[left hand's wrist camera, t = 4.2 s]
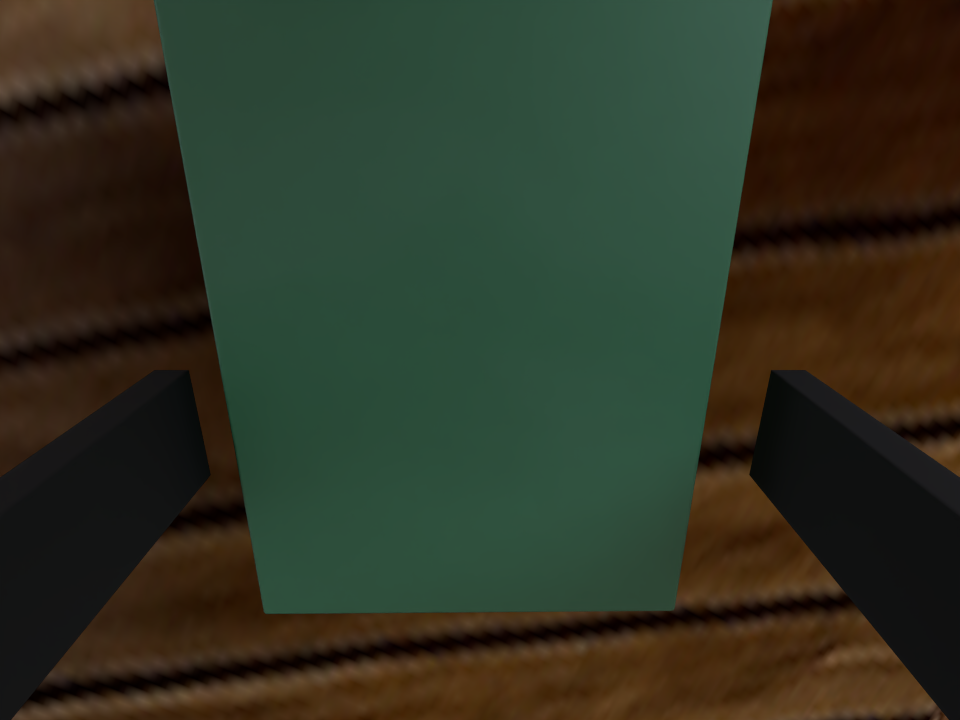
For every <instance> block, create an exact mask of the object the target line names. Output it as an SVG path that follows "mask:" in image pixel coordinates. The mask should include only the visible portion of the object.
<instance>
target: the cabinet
mask: <svg viewBox="0 0 960 720" xmlns="http://www.w3.org/2000/svg"><path fill="white" fill-rule="evenodd" d="M772 1H773V0H154V4H155V9H156V15H157V21H158V26H159V32H160V37H161V43H162V48H163V54H164V59H165V65H166V70H167V76H168V82H169V87H170V93H171V98H172V104H173V109H174V115H175V120H176V126H177V132H178V137H179V143H180V148H181V154H182V159H183V165H184V170H185V176H186V181H187V187H188V193H189V198H190V204H191V209H192V215H193V220H194V226H195V231H196V237H197V243H198V248H199V254H200V259H201V265H202V270H203V276H204V281H205V287H206V292H207V298H208V304H209V309H210V315H211V320H212V326H213V331H214V337H215V342H216V348H217V354H218V359H219V365H220V370H221V376H222V381H223V387H224V392H225V398H226V403H227V409H228V415H229V420H230V426H231V431H232V437H233V442H234V448H235V453H236V459H237V465H238V470H239V476H240V481H241V487H242V492H243V498H244V503H245V509H246V514H247V520H248V526H249V531H250V537H251V542H252V548H253V553H254V559H255V564H256V570H257V576H258V581H259V587H260V592H261V598H262V603H263V609H264V612H265V613H266V614H314V613H439V612H564V611H672V610H674V608H675V601H676V595H677V589H678V583H679V577H680V570H681V564H682V558H683V552H684V546H685V540H686V533H687V527H688V521H689V515H690V509H691V502H692V496H693V490H694V484H695V478H696V471H697V465H698V459H699V453H700V447H701V440H702V434H703V428H704V422H705V416H706V410H707V403H708V397H709V391H710V385H711V379H712V372H713V366H714V360H715V354H716V348H717V341H718V335H719V329H720V323H721V317H722V311H723V304H724V298H725V292H726V286H727V280H728V273H729V267H730V261H731V255H732V249H733V242H734V236H735V230H736V224H737V218H738V212H739V205H740V199H741V193H742V187H743V181H744V174H745V168H746V162H747V156H748V150H749V143H750V137H751V131H752V125H753V119H754V112H755V106H756V100H757V94H758V88H759V82H760V75H761V69H762V63H763V57H764V51H765V44H766V38H767V32H768V26H769V20H770V13H771V7H772Z"/></svg>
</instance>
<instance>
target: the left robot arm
mask: <svg viewBox="0 0 960 720" xmlns="http://www.w3.org/2000/svg"><path fill="white" fill-rule="evenodd" d="M210 475H211V474H210V470H209V465H208V460H207V455H206V450H205V446H204V441H203V436H202V431H201V427H200V422H199V417H198V412H197V407H196V403H195V398H194V393H193V388H192V383H191V379H190V374H189V370H154V371H153V372H152V373H150V374H149V375H147V376H146V377H144V378H143V379H141V380H140V381H139V382H137V383H136V384H134V385H133V386H131V387H130V388H128V389H127V390H126V391H124V392H123V393H121V394H120V395H118V396H117V397H116V398H114V399H113V400H111V401H110V402H108V403H107V404H105V405H104V406H103V407H101V408H100V409H98V410H97V411H95V412H94V413H92V414H91V415H90V416H88V417H87V418H85V419H84V420H82V421H81V422H80V423H78V424H77V425H75V426H74V427H72V428H71V429H69V430H68V431H67V432H65V433H64V434H62V435H61V436H59V437H58V438H56V439H55V440H54V441H52V442H51V443H49V444H48V445H46V446H45V447H44V448H42V449H41V450H39V451H38V452H36V453H35V454H33V455H32V456H31V457H29V458H28V459H26V460H25V461H23V462H22V463H20V464H19V465H18V466H16V467H15V468H13V469H12V470H10V471H9V472H8V473H6V474H5V475H3V476H2V477H0V720H11V719H12V718H13V717H14V715H15V714H16V713H17V712H18V711H19V709H20V708H21V707H22V706H23V704H24V703H25V702H26V701H27V699H28V698H29V697H30V696H31V695H32V693H33V692H34V691H35V690H36V688H37V687H38V686H39V685H40V684H41V682H42V681H43V680H44V679H45V677H46V676H47V675H48V674H49V672H50V671H51V670H52V669H53V668H54V666H55V665H56V664H57V663H58V661H59V660H60V659H61V658H62V657H63V655H64V654H65V653H66V652H67V650H68V649H69V648H70V647H71V646H72V644H73V643H74V642H75V641H76V639H77V638H78V637H79V636H80V634H81V633H82V632H83V631H84V630H85V628H86V627H87V626H88V625H89V623H90V622H91V621H92V620H93V619H94V617H95V616H96V615H97V614H98V612H99V611H100V610H101V609H102V607H103V606H104V605H105V604H106V603H107V601H108V600H109V599H110V598H111V596H112V595H113V594H114V593H115V592H116V590H117V589H118V588H119V587H120V585H121V584H122V583H123V582H124V580H125V579H126V578H127V577H128V576H129V574H130V573H131V572H132V571H133V569H134V568H135V567H136V566H137V565H138V563H139V562H140V561H141V560H142V558H143V557H144V556H145V555H146V553H147V552H148V551H149V550H150V549H151V547H152V546H153V545H154V544H155V542H156V541H157V540H158V539H159V538H160V536H161V535H162V534H163V533H164V531H165V530H166V529H167V528H168V527H169V525H170V524H171V523H172V522H173V520H174V519H175V518H176V517H177V515H178V514H179V513H180V512H181V511H182V509H183V508H184V507H185V506H186V504H187V503H188V502H189V501H190V500H191V498H192V497H193V496H194V495H195V493H196V492H197V491H198V490H199V488H200V487H201V486H202V485H203V484H204V482H205V481H206V480H207V479H208V477H209V476H210ZM749 475H750V476H751V477H752V479H753V480H754V481H755V482H756V484H757V485H758V486H759V487H760V488H761V490H762V491H763V492H764V493H765V495H766V496H767V497H768V498H769V500H770V501H771V502H772V503H773V504H774V506H775V507H776V508H777V509H778V511H779V512H780V513H781V514H782V515H783V517H784V518H785V519H786V520H787V522H788V523H789V524H790V525H791V527H792V528H793V529H794V530H795V531H796V533H797V534H798V535H799V536H800V538H801V539H802V540H803V541H804V542H805V544H806V545H807V546H808V547H809V549H810V550H811V551H812V552H813V553H814V555H815V556H816V557H817V558H818V560H819V561H820V562H821V563H822V565H823V566H824V567H825V568H826V569H827V571H828V572H829V573H830V574H831V576H832V577H833V578H834V579H835V580H836V582H837V583H838V584H839V585H840V587H841V588H842V589H843V590H844V592H845V593H846V594H847V595H848V596H849V598H850V599H851V600H852V601H853V603H854V604H855V605H856V606H857V607H858V609H859V610H860V611H861V612H862V614H863V615H864V616H865V617H866V619H867V620H868V621H869V622H870V623H871V625H872V626H873V627H874V628H875V630H876V631H877V632H878V633H879V634H880V636H881V637H882V638H883V639H884V641H885V642H886V643H887V644H888V646H889V647H890V648H891V649H892V650H893V652H894V653H895V654H896V655H897V657H898V658H899V659H900V660H901V661H902V663H903V664H904V665H905V666H906V668H907V669H908V670H909V671H910V672H911V674H912V675H913V676H914V677H915V679H916V680H917V681H918V682H919V684H920V685H921V686H922V687H923V688H924V690H925V691H926V692H927V693H928V695H929V696H930V697H931V698H932V699H933V701H934V702H935V703H936V704H937V706H938V707H939V708H940V709H941V711H942V712H943V713H944V714H945V715H946V717H947V718H948V719H949V720H960V477H958V476H957V475H955V474H954V473H952V472H951V471H950V470H948V469H947V468H945V467H944V466H942V465H941V464H940V463H938V462H937V461H935V460H934V459H932V458H931V457H929V456H928V455H927V454H925V453H924V452H922V451H921V450H919V449H918V448H916V447H915V446H914V445H912V444H911V443H909V442H908V441H906V440H905V439H904V438H902V437H901V436H899V435H898V434H896V433H895V432H893V431H892V430H891V429H889V428H888V427H886V426H885V425H883V424H882V423H880V422H879V421H878V420H876V419H875V418H873V417H872V416H870V415H869V414H868V413H866V412H865V411H863V410H862V409H860V408H859V407H857V406H856V405H855V404H853V403H852V402H850V401H849V400H847V399H846V398H844V397H843V396H842V395H840V394H839V393H837V392H836V391H834V390H833V389H832V388H830V387H829V386H827V385H826V384H824V383H823V382H821V381H820V380H819V379H817V378H816V377H814V376H813V375H811V374H810V373H808V372H807V371H806V370H771V374H770V379H769V383H768V388H767V393H766V398H765V403H764V407H763V412H762V417H761V422H760V427H759V431H758V436H757V441H756V446H755V450H754V455H753V460H752V465H751V470H750V474H749Z"/></svg>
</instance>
